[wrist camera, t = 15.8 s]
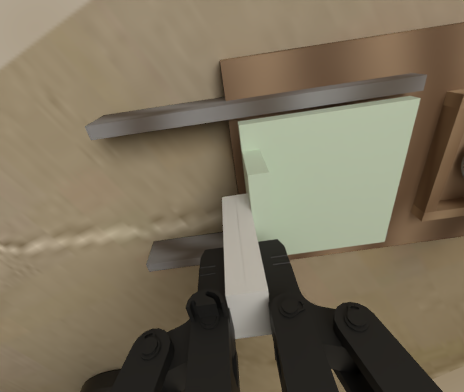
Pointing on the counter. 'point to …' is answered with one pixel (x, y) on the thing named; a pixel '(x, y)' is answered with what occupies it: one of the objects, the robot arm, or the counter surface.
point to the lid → (326, 173)
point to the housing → (333, 95)
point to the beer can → (462, 167)
